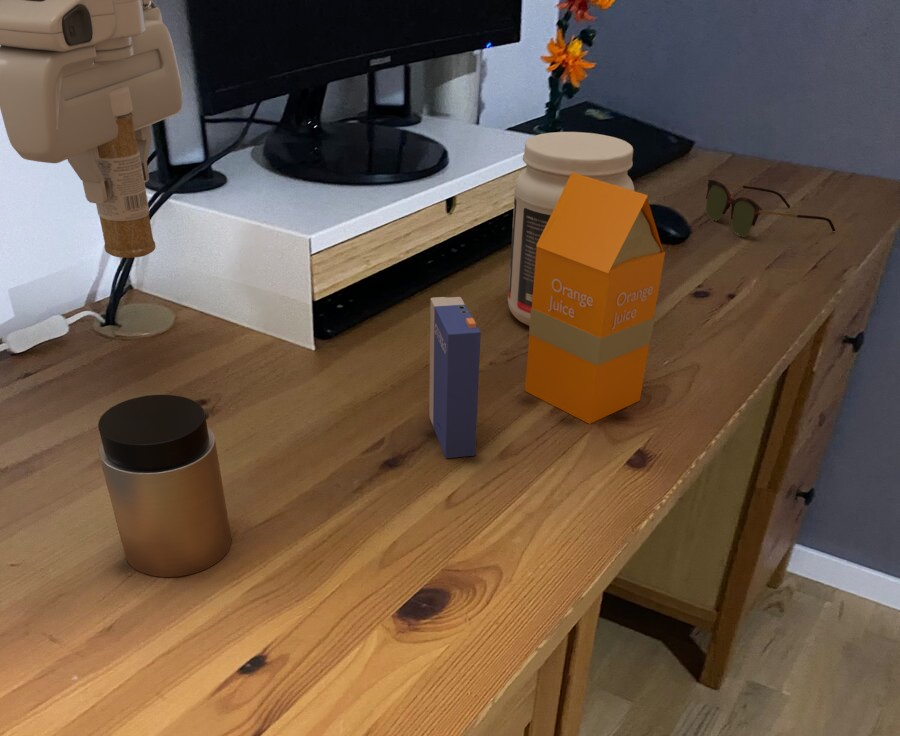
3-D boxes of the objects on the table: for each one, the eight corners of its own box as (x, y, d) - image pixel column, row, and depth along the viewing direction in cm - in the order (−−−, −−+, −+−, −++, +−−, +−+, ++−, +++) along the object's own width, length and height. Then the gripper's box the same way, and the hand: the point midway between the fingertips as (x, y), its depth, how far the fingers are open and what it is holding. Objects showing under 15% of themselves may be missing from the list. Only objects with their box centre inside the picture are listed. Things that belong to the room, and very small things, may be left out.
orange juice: (575, 369, 95) (600, 164, 83) (641, 400, 90) (678, 187, 78) (522, 391, 91) (539, 179, 79) (588, 425, 86) (618, 204, 74)
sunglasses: (699, 212, 137) (708, 176, 134) (781, 213, 142) (792, 179, 139) (750, 243, 127) (761, 206, 124) (838, 244, 131) (851, 207, 128)
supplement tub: (638, 328, 104) (667, 154, 92) (541, 346, 100) (557, 166, 88) (579, 288, 113) (598, 125, 101) (487, 303, 108) (495, 134, 97)
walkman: (475, 456, 82) (481, 327, 74) (445, 459, 81) (448, 330, 73) (457, 414, 87) (461, 291, 80) (428, 416, 87) (429, 293, 79)
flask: (103, 565, 68) (67, 436, 61) (160, 508, 74) (132, 384, 67) (199, 587, 67) (173, 456, 60) (249, 526, 72) (231, 401, 65)
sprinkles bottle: (143, 239, 86) (115, 77, 77) (165, 253, 83) (138, 87, 74) (96, 248, 83) (61, 83, 75) (117, 263, 81) (83, 93, 72)
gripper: (123, -13, 79) (150, 158, 88) (-39, 19, 64) (14, 221, 73) (187, -7, 78) (209, 166, 87) (38, 27, 63) (82, 232, 72)
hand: (119, 192), depth 80 cm, fingers closed on sprinkles bottle, 4 cm apart
